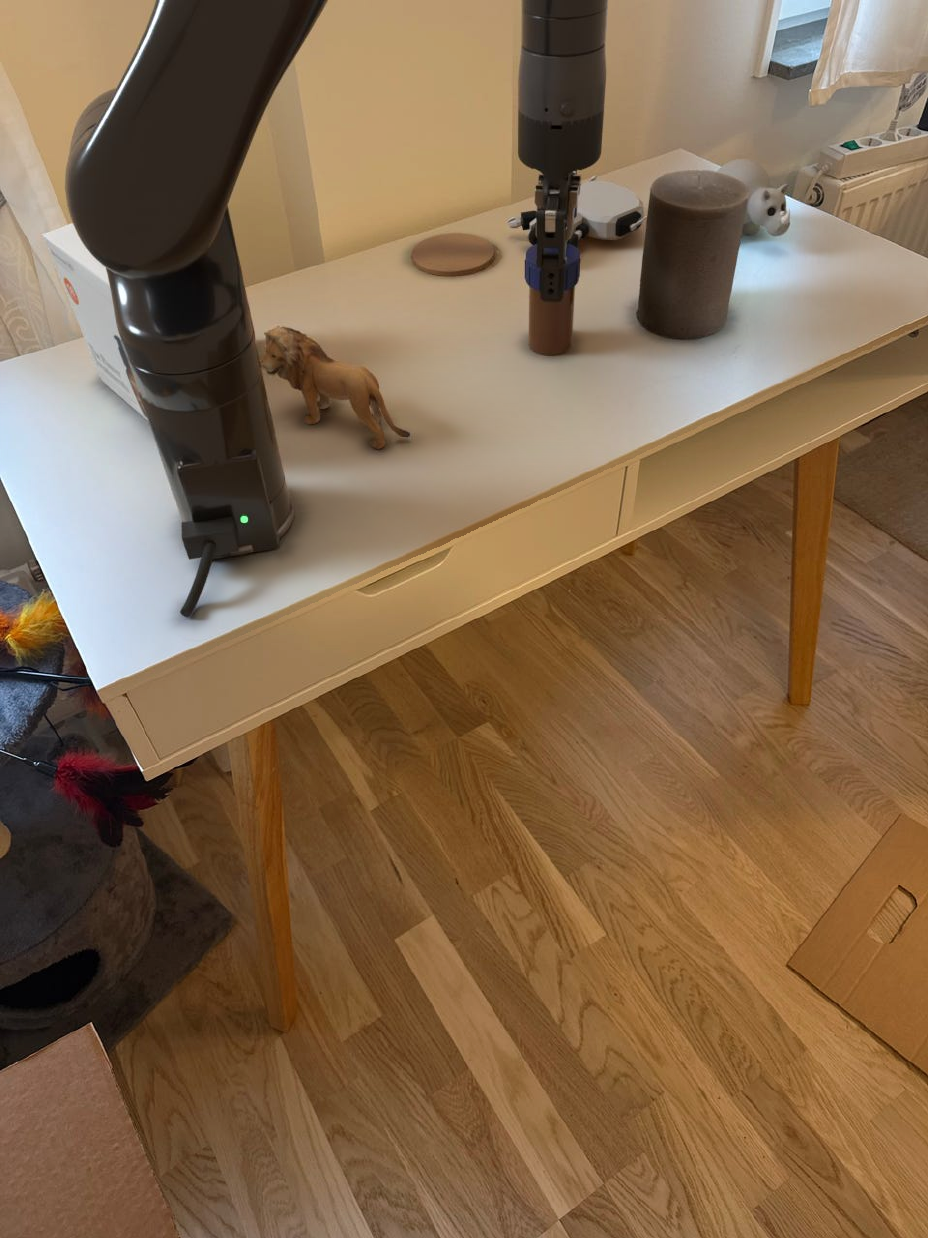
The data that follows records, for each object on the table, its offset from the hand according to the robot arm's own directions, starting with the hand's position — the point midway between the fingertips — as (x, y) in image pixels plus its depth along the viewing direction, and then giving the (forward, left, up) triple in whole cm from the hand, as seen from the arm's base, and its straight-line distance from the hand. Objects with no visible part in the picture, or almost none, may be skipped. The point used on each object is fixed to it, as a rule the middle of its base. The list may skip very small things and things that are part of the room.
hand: (554, 284), depth 93 cm
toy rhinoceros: (+17, -29, -7) cm, 34 cm away
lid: (0, 0, +3) cm, 3 cm away
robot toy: (+23, -10, -7) cm, 26 cm away
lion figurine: (-8, +24, -7) cm, 26 cm away
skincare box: (-2, +40, -7) cm, 41 cm away
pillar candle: (+2, -15, -7) cm, 17 cm away
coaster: (+23, +6, -7) cm, 25 cm away
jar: (0, 0, -7) cm, 7 cm away
